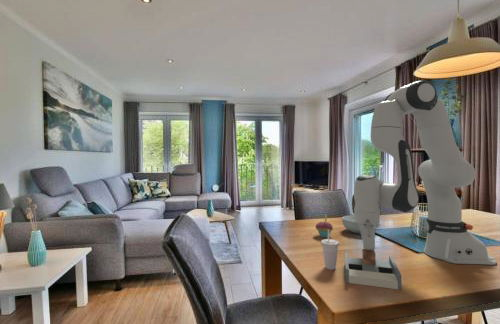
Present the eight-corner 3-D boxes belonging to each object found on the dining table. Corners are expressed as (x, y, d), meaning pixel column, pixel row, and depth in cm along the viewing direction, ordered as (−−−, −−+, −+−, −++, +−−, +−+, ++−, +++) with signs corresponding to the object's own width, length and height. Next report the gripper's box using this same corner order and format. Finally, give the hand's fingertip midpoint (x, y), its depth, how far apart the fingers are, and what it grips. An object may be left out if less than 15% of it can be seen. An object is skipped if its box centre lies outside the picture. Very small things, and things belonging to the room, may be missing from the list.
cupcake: (336, 237, 133) (336, 213, 133) (322, 239, 130) (322, 215, 130) (325, 232, 141) (325, 210, 141) (312, 234, 138) (312, 211, 138)
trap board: (392, 268, 96) (392, 256, 96) (401, 289, 81) (401, 275, 81) (345, 263, 101) (345, 251, 101) (345, 282, 86) (345, 268, 86)
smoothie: (325, 262, 102) (325, 226, 102) (342, 266, 98) (341, 229, 98) (318, 268, 97) (317, 230, 97) (335, 272, 93) (335, 233, 93)
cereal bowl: (380, 236, 132) (380, 222, 132) (345, 235, 135) (345, 222, 135) (370, 227, 149) (370, 215, 149) (339, 226, 152) (339, 214, 152)
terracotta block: (374, 260, 97) (374, 249, 97) (375, 265, 93) (375, 253, 93) (362, 259, 98) (362, 248, 98) (363, 263, 94) (363, 252, 94)
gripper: (379, 225, 90) (379, 265, 90) (373, 212, 109) (373, 245, 109) (359, 223, 92) (359, 263, 92) (356, 211, 111) (357, 244, 111)
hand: (367, 253), depth 101 cm, fingers closed
